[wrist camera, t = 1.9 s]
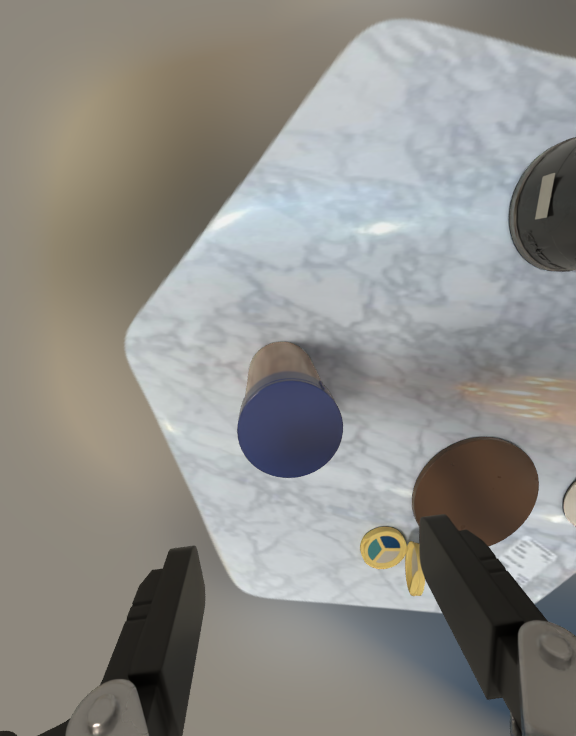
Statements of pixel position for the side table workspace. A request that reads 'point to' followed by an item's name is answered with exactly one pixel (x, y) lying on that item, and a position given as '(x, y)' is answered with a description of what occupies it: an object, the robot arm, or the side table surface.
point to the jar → (279, 362)
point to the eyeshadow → (393, 555)
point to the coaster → (478, 487)
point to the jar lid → (289, 425)
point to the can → (570, 504)
